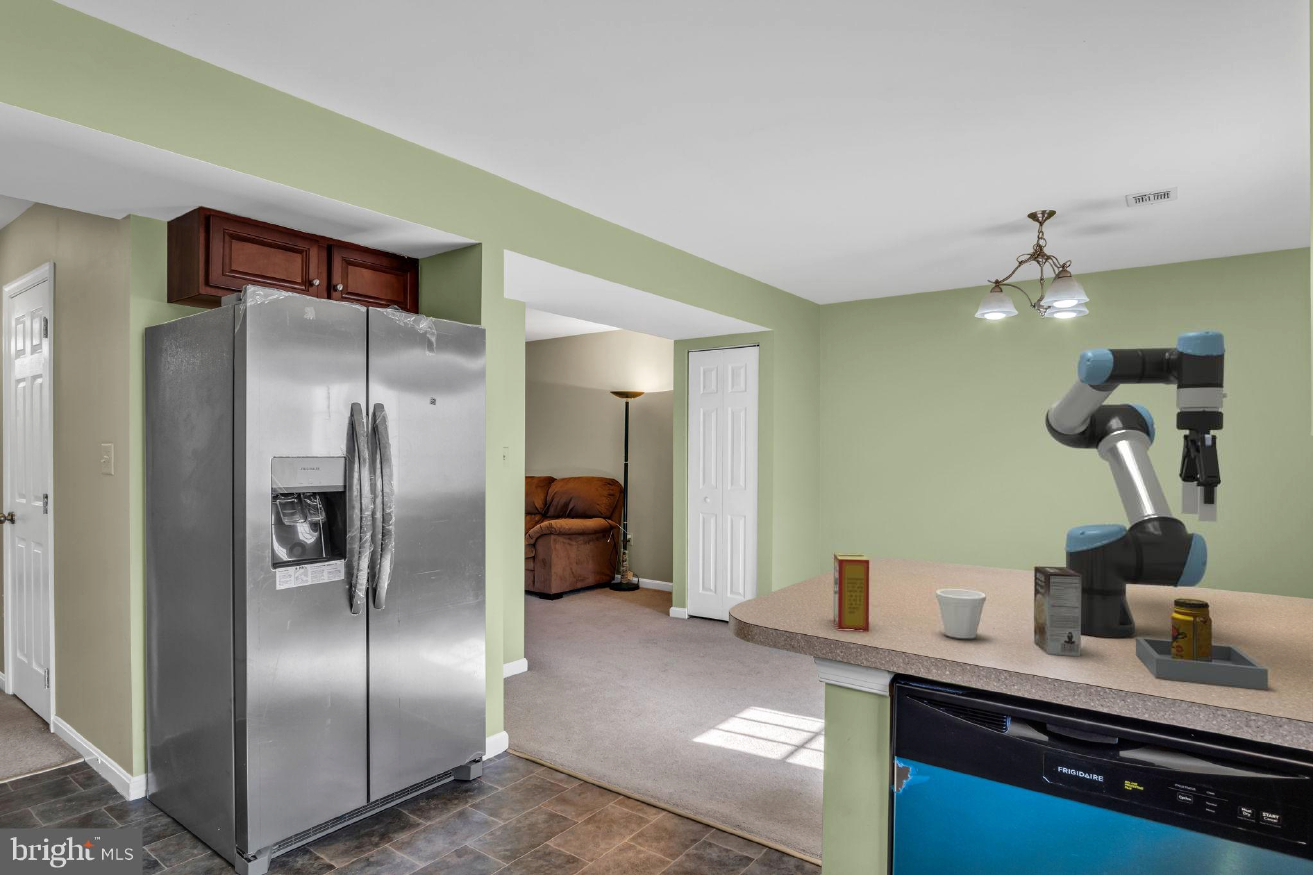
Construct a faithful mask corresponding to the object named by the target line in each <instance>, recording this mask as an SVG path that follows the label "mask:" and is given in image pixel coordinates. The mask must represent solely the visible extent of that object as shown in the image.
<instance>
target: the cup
mask: <svg viewBox="0 0 1313 875" xmlns="http://www.w3.org/2000/svg"><path fill="white" fill-rule="evenodd" d="M935 597H936V600H937V602H938V606H939V610H940V615H941V620H942V623H943V624H942V625H943V629H944V634H945V636H946V637H948V638H950V637H951V639H954V638H955V640H961V639H962V640H965V641H966V640H973V639H976V638H977V633H978V629H979V624H980V622H981V621H980V620H981V617H982V613H983V608H984V605H985V603H986V600H987V595H986V594H984V593H983V592H980V591H977V590H971V589H962V588H961V589H960V588H944V589H943V588H942V589H937V591H935Z"/></svg>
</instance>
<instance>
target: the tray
mask: <svg viewBox="0 0 1313 875" xmlns="http://www.w3.org/2000/svg"><path fill="white" fill-rule="evenodd" d="M1171 641H1172V639H1164V638H1163V639H1161V638H1152V637H1143V636H1142V637H1141V636H1140V637H1138V636H1135V656H1136V657H1137V658H1138V659H1139V660H1140V662H1142V664H1143V665H1144V667H1146V669H1148V671H1149V673H1151V674H1152V676H1154V678H1155V679H1163V680H1169V681H1170V680H1172V681H1180V682H1187V683H1188V682H1189V683H1197V684H1206V685H1207V684H1209V685H1216V686H1225V687H1226V686H1227V687H1236V688H1242V689H1243V688H1244V689H1252V690H1253V689H1254V690H1262V691H1263V690H1264V691H1268V687H1269V686H1268V685H1269V684H1268V683H1269V682H1268V679H1269V676H1268V673H1269V672H1268V668H1267V667H1266V666H1264V665H1262V664H1260V662H1258V661H1256V660H1255V659H1254V658H1253V657H1251V656H1249V655H1248V654H1247V653H1246V652H1244V651H1243V650H1241V648H1239V647H1237V646H1236V645H1227V644H1215V643H1212V662H1202V661H1192V660H1182V659H1172V654H1171V651H1172V650H1171V647H1172V645H1171V643H1172V642H1171Z"/></svg>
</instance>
